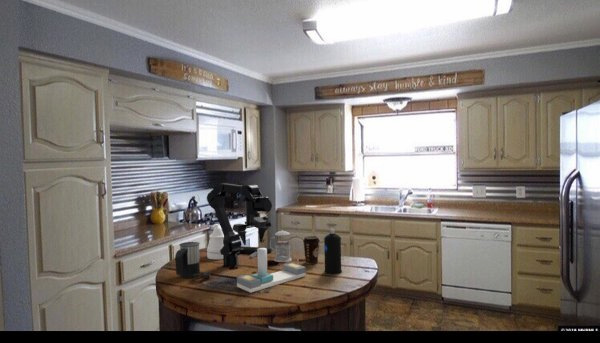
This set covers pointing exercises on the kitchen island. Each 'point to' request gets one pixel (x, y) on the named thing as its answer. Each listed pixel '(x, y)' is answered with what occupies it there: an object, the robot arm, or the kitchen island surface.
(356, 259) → the kitchen island surface
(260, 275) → the carriage
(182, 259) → the milk frother
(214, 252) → the white jug
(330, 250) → the aerosol can
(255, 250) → the door handle
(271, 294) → the kitchen island surface
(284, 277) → the rail
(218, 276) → the kitchen island surface
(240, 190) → the robot arm
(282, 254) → the french press
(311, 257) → the coffee cup
